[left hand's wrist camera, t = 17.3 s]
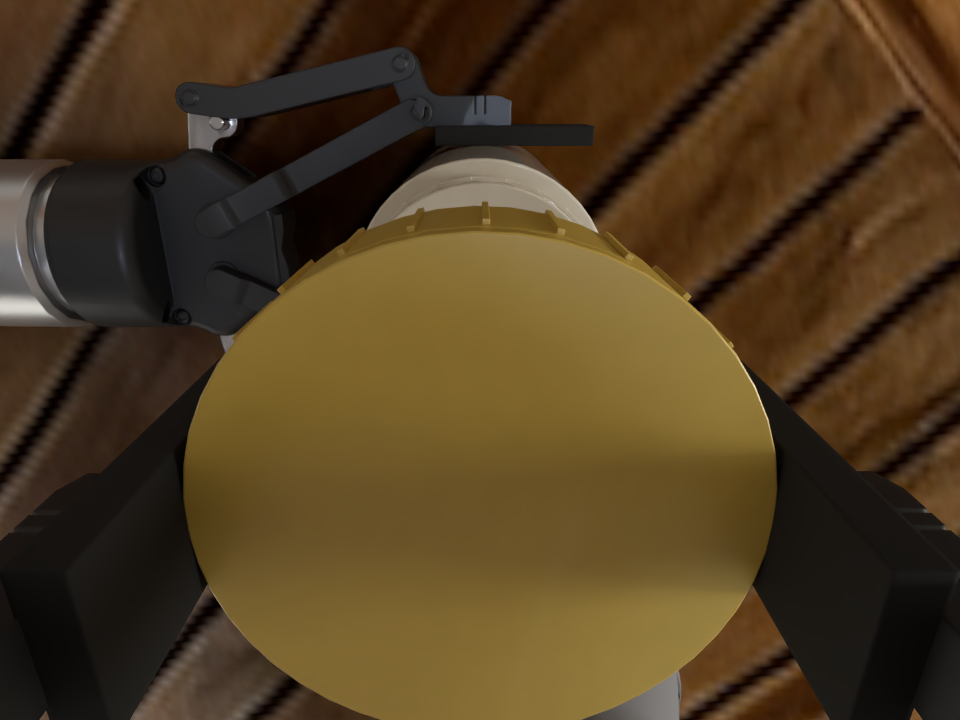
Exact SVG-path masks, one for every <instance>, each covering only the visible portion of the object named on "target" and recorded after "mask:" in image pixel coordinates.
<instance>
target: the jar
mask: <svg viewBox="0 0 960 720" xmlns="http://www.w3.org/2000/svg"><path fill="white" fill-rule="evenodd" d="M482 202H488V204H489V206H493V207H512V208H518V209H523V210H529V211H534V212H540V213H545V211H546V209H547V210H551V211H552V212H553V213H554V215H555V216H556V217H558V218H561V219H564V220H567V221H571V222H574V223H577V224H580V225H582V226H584V227H586V228H588V229H591V230H593V231H595V232H597V233H598V231H597V229H596V227H595V225H594V223H593V221H592V219H591V218H590V216H589V215H588V213H587V212H586V211H585V209H584V208H583V206H582V205H581V204H580V202H579V201H578V200H577V199H576V198H575V197H574V196H573V195H572V194H571V193H570V192H569V191H568V190H567V189H566V188H565V187H564V186H563V185H562V184H561V183H560V182H559V181H558V180H557V179H556V178H555V177H554V176H553V175H552V174H551V173H550V172H549V171H548V170H547V169H546V168H545V167H544V166H543V165H542V164H541V163H540V162H539V161H538V160H537V159H536V158H535V157H534V156H533V155H531V154H530V153H529V152H528V151H526V150H525V149H523V148H521V147H519V146H444V147H442V148H440V149H439V150H437V151H436V152H434V153H433V154H432V155H431V156H429V157H428V158H427V159H426V160H425V161H424V162H423V163H422V164H421V165H420V166H419V167H418V168H417V169H416V170H415V171H414V172H413V173H412V174H411V175H410V176H409V177H408V178H407V179H406V180H405V181H404V182H403V183H402V184H401V185H400V186H399V187H398V188H397V189H396V190H395V191H394V192H393V193H392V194H391V196H390V197H389V198H388V199H387V200H386V201H385V202H384V203H383V205H382V206H381V207H380V208H379V210H378V211H377V213H376V214H375V216H374V217H373V219H372V220H371V222H370V224H369V226H368V228H367V230H369V229H371V228H374V227H376V226H379V225H382V224H385V223H387V222H390V221H393V220H395V219H398V218H401V217H404V216H408V215H413V214H415V212H416V211H417V209H418V208H422V207H424V210H425V212H426V211H431V210H435V209H442V208H453V207H465V206H482ZM367 230H366V231H367Z"/></svg>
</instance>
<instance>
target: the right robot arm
mask: <svg viewBox="0 0 960 720" xmlns="http://www.w3.org/2000/svg"><path fill="white" fill-rule="evenodd" d="M393 85H394V87H395V89H396V92H397V95H398V97H399V100H400V102H401V103H400V104H398V105H396V106H395V107H393V108H391V109H389V110H387V111H385V112H384V113H382V114H380V115H378V116H376V117H374V118H373V119H371V120H369V121H367V122H365V123H363V124H362V125H360V126H358V127H356V128H354V129H352V130H351V131H349V132H347V133H345V134H343V135H341V136H340V137H338V138H336V139H334V140H332V141H330V142H329V143H327V144H325V145H323V146H321V147H319V148H318V149H316V150H314V151H312V152H310V153H308V154H307V155H305V156H303V157H301V158H299V159H297V160H296V161H294V162H292V163H290V164H288V165H286V166H285V167H283V168H281V169H279V170H276V171H274V172H272V173H270V174H269V175H267V176H265V177H263V178H260V177H258V176H257V175H255V174H254V173H253V172H251V171H250V170H248V169H247V168H245V167H244V166H242V165H241V164H239V163H238V162H236V161H235V160H234V159H232V158H231V157H229V156H228V155H226V154H225V153H223V152H222V151H220V147H221V143H222V141H223V140H224V139H225V138H227V137H230V136H236V135H238V134H240V133H241V132H242V131H243V129H244V124H245V119H244V118H256V117H265V116H271V115H275V114H279V113H283V112H287V111H291V110H295V109H300V108H304V107H308V106H312V105H316V104H320V103H324V102H328V101H332V100H336V99H340V98H344V97H349V96H353V95H357V94H361V93H365V92H369V91H373V90H377V89H381V88H385V87H389V86H393ZM175 97H176V102H177V104H178V105H179V107H180V108H181V109H182V110H183V111H185V112H187V113H188V134H189V149H188V150H185V151H183V152H182V153H180V154H179V155H177V156H176V157H174V158H171V159H83V160H79V161H77V162H75V163H73V162H70V161H67V160H64V159H0V326H44V327H85V326H88V325H90V324H95V325H98V326H104V327H173V326H195V327H199V328H202V329H205V330H207V331H209V332H211V333H213V334H216V335H220V337H221V341H222V344H223V347H224V350H225V353H226V352H227V350H228V349H229V348H230V346H231V345H232V344H233V342H234V340H233V339H232V338H233V336H234V335H235V334H236V333H237V332H238V331H239V330H240V329H241V328H242V327H243V326H244V325H245V324H247V323H248V322H249V321H250V320H251V319H252V318H253V317H254V316H255V315H256V314H257V313H259V312H260V311H261V310H262V309H263V308H264V307H265V306H266V305H267V304H268V303H269V302H270V301H274V300H275V299H276V298H277V297H278V296H279V295H280V293H279V292H278V291H277V289H278V288H279V287H280V286H282V285H283V284H284V283H285V282H286V281H287V280H288V279H289V278H291V277H292V276H293V275H294V274H295V273H296V272H297V271H298V270H300V269H301V263H300V256H299V253H298V251H297V248H296V245H295V243H294V234H295V228H296V217H295V208H294V207H290V205H289V203H288V201H287V200H289V199H291V198H292V197H294V196H296V195H298V194H300V193H302V192H304V191H306V190H307V189H309V188H311V187H313V186H315V185H317V184H318V183H320V182H322V181H324V180H326V179H328V178H330V177H332V176H333V175H335V174H337V173H339V172H341V171H343V170H345V169H346V168H348V167H350V166H352V165H354V164H356V163H358V162H360V161H361V160H363V159H365V158H367V157H369V156H371V155H373V154H375V153H376V152H378V151H380V150H382V149H384V148H386V147H388V146H390V145H391V144H393V143H395V142H397V141H399V140H401V139H403V138H404V137H406V136H408V135H410V134H412V133H414V132H416V131H418V130H419V129H421V128H423V127H435V146H593V138H594V126H591V125H586V124H511V101H510V100H508V99H505V98H503V97H501V96H440V95H437V94H435V93H434V92H433V91H432V90H431V89H430V88H429V87H428V85H427V82H426V80H425V77H424V74H423V71H422V69H421V66H420V62H419V59H418V57H417V56H416V55H415V54H414V53H412V52H411V51H410V50H408V49H406V48H404V47H393V48H389V49H385V50H381V51H378V52H374V53H370V54H366V55H362V56H358V57H354V58H350V59H346V60H342V61H338V62H334V63H330V64H326V65H322V66H318V67H314V68H310V69H306V70H302V71H298V72H294V73H290V74H286V75H282V76H278V77H274V78H270V79H266V80H262V81H258V82H254V83H250V84H246V85H242V86H238V87H232V86H225V85H218V84H209V83H195V82H184V83H182V84H181V85H179V86H178V88H177V89H176V94H175Z"/></svg>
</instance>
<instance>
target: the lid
mask: <svg viewBox="0 0 960 720" xmlns="http://www.w3.org/2000/svg"><path fill="white" fill-rule="evenodd" d="M277 291H278V292H279V293H280V295H279V296H278V297H277V298H276V299H275V300H274V301H270V302H269V303H268V304H267V305H266V306H265V307H264V308H263V309H262V310H261V311H260V312H259V313H257V314H256V315H255V316H254V317H253V318H252V319H251V320H250V321H249V322H248V323H247V324H245V325H244V326H243V327H242V328H241V329H240V330H239V331H238V332H237V333H236V334H235V335H234V336H233V338H232V339H233V340H234V342H233V344H232V345H231V346H230V348H229V349H228V350H227V352H226V353H225V354H224V356H223V357H222V358H221V360H220V361H219V362H218V364H217V366H216V367H215V369H214V371H213V373H212V375H211V377H210V379H209V381H208V383H207V385H206V387H205V388H204V390H203V392H202V394H201V396H200V399H199V402H198V405H197V408H196V411H195V414H194V417H193V420H192V423H191V426H190V429H189V433H188V439H187V445H186V451H185V457H184V463H183V501H184V508H185V514H186V519H187V525H188V530H189V534H190V539H191V543H192V546H193V549H194V552H195V555H196V559H197V562H198V564H199V566H200V568H201V570H202V573H203V575H204V577H205V579H206V581H207V583H208V585H209V587H210V589H211V591H212V593H213V594H214V596H215V597H216V599H217V601H218V602H219V604H220V605H221V607H222V608H223V610H224V611H225V613H226V614H227V616H228V617H229V619H230V620H231V621H232V622H233V623H234V625H235V626H236V627H237V628H238V629H239V630H240V632H241V633H242V634H243V635H244V636H245V637H246V639H247V640H248V641H249V642H250V643H251V644H252V645H253V646H254V647H255V648H256V649H258V650H259V651H260V652H261V653H262V654H263V655H264V656H265V657H266V658H267V659H268V660H270V661H271V662H272V663H273V664H274V665H275V666H277V667H278V668H280V669H281V670H282V671H284V672H285V673H286V674H288V675H289V676H291V677H292V678H293V679H295V680H296V681H298V682H299V683H300V684H302V685H304V686H306V687H307V688H309V689H311V690H313V691H314V692H316V693H318V694H320V695H321V696H323V697H325V698H327V699H329V700H331V701H333V702H336V703H338V704H340V705H342V706H345V707H347V708H349V709H351V710H354V711H356V712H359V713H362V714H365V715H368V716H371V717H374V718H377V719H380V720H581V719H584V718H587V717H589V716H592V715H595V714H598V713H601V712H603V711H606V710H609V709H612V708H614V707H616V706H618V705H620V704H622V703H624V702H626V701H628V700H630V699H633V698H635V697H637V696H639V695H641V694H643V693H644V692H646V691H648V690H649V689H651V688H652V687H654V686H656V685H657V684H659V683H660V682H662V681H664V680H665V679H667V678H669V677H670V676H671V675H673V674H674V673H675V672H676V671H678V670H679V669H680V668H682V667H683V666H684V665H685V664H687V663H688V662H689V661H690V660H692V659H693V658H694V657H695V656H696V655H697V654H698V653H699V652H700V651H701V650H702V649H703V648H704V647H705V646H706V645H708V644H709V643H710V642H711V641H712V640H713V639H714V638H715V637H716V636H717V635H718V633H719V632H720V631H721V630H722V628H723V627H724V626H725V624H726V623H727V622H728V621H729V619H730V618H731V617H732V616H733V614H734V613H735V612H736V611H737V609H738V607H739V606H740V604H741V602H742V601H743V599H744V597H745V596H746V594H747V592H748V591H749V589H750V587H751V586H752V584H753V582H754V580H755V578H756V575H757V573H758V571H759V568H760V566H761V563H762V561H763V559H764V556H765V554H766V550H767V546H768V541H769V536H770V532H771V527H772V523H773V517H774V512H775V506H776V500H777V490H778V484H777V466H776V452H775V447H774V443H773V438H772V433H771V429H770V424H769V420H768V417H767V415H766V412H765V409H764V407H763V404H762V402H761V399H760V397H759V394H758V391H757V389H756V386H755V385H754V383H753V381H752V380H751V378H750V376H749V374H748V373H747V371H746V369H745V368H744V366H743V364H742V362H741V361H740V359H739V357H738V356H737V354H736V353H735V352H734V350H733V349H732V348H733V347H734V346H733V344H732V343H731V342H730V341H729V340H728V339H727V338H726V337H725V336H724V335H723V334H722V333H721V332H720V331H719V330H717V329H716V328H715V327H714V326H713V325H712V324H711V323H710V322H709V321H708V320H707V319H706V318H705V317H704V316H703V315H702V314H701V313H699V312H698V311H697V310H696V309H695V308H694V307H693V306H692V305H691V304H690V303H689V302H688V300H689V299H690V298H691V296H690V295H689V294H688V293H687V292H686V291H685V290H684V289H682V288H681V287H680V286H679V285H678V284H677V283H676V282H674V281H673V280H672V279H671V278H670V277H669V276H668V275H666V274H665V273H664V272H663V271H662V270H661V269H660V268H659V267H657V266H656V265H655V266H654V267H653V268H652V269H651V268H650V267H649V266H648V265H647V264H646V263H645V262H644V261H643V260H641V259H640V258H638V257H637V256H635V255H634V254H633V253H631V252H630V251H628V250H627V249H626V248H625V247H624V246H623V245H622V244H621V243H619V242H618V241H617V240H616V239H615V238H614V237H613V236H612V235H611V234H610V233H608V232H606V231H605V232H604V234H603V235H601V234H599V233H597V232H595V231H593V230H591V229H588V228H586V227H584V226H582V225H580V224H577V223H574V222H571V221H567V220H564V219H561V218H558V217H556V216H555V215H554V213H553V212H552V211H551V210H547V209H546V211H545V213H540V212H534V211H529V210H523V209H518V208H512V207H493V206H489V204H488V202H482V206H465V207H453V208H442V209H435V210H431V211H426V212H425V210H424V207H422V208H418V209H417V211H416V212H415V214H413V215H408V216H404V217H401V218H398V219H395V220H393V221H390V222H387V223H385V224H382V225H379V226H376V227H374V228H371V229H369V230H367V231H365V229H364V227H362V228H360V229H358V230H357V231H356V232H355V233H354V234H353V235H352V236H351V237H350V238H349V239H348V240H347V241H346V242H344V243H343V244H341V245H339V246H337V247H336V248H335V249H333V250H332V251H330V252H329V253H328V254H326V255H325V256H324V257H322V258H321V259H320V260H318V261H317V262H316V263H315V262H314V261H313V260H312V259H311V260H310V261H309V262H307V263H306V264H305V265H304V266H303V267H302V268H301V269H300V270H298V271H297V272H296V273H295V274H294V275H293V276H292V277H291V278H289V279H288V280H287V281H286V282H285V283H284V284H283V285H282V286H280V287H279V288H278V289H277Z"/></svg>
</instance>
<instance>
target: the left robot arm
mask: <svg viewBox="0 0 960 720" xmlns="http://www.w3.org/2000/svg"><path fill="white" fill-rule="evenodd" d="M220 360H221V358H220V359H219V360H218V361H217V362H216V363H215V364H214V365H213V366H212V367H211V368H210V369H209V370H208V371H207V372H206V373H205V374H204V375H202V376H201V377H200V378H199V379H198V380H197V381H196V382H195V383H194V384H193V385H192V386H191V387H190V388H189V389H188V390H187V391H186V392H185V393H184V394H183V395H182V396H181V397H180V398H179V399H178V400H176V401H175V402H174V403H173V404H172V405H171V406H170V407H169V408H168V409H167V410H166V411H165V412H164V413H163V414H162V415H161V416H160V417H159V418H158V419H157V420H156V421H155V422H154V423H153V424H151V425H150V426H149V427H148V428H147V429H146V430H145V431H144V432H143V433H142V434H141V435H140V436H139V437H138V438H137V439H136V440H135V441H134V442H133V443H132V444H131V445H130V446H129V447H128V448H126V449H125V450H124V451H123V452H122V453H121V454H120V455H119V456H118V457H117V458H116V459H115V460H114V461H113V462H112V463H111V464H110V465H109V466H108V467H107V468H106V469H105V470H104V471H103V472H101V473H100V474H86V475H84V476H82V477H80V478H79V479H77V480H75V481H73V482H71V483H70V484H68V485H66V486H64V487H62V488H60V489H59V490H57V491H55V492H54V493H53V494H52V495H51V496H50V497H49V498H48V499H46V500H45V501H44V502H43V503H42V504H41V505H40V506H39V507H38V508H36V509H35V510H34V511H33V515H29V516H28V517H26V518H25V519H24V520H23V521H22V522H21V523H20V524H19V525H18V526H17V527H15V528H14V533H9V534H8V535H7V536H5V537H4V538H3V539H2V540H1V541H0V720H39V719H40V718H41V716H42V715H43V714H44V712H45V711H46V710H47V713H48V716H49V719H50V720H130V718H131V716H132V715H133V713H134V711H135V709H136V708H137V706H138V704H139V702H140V701H141V699H142V697H143V695H144V694H145V692H146V690H147V689H148V687H149V685H150V683H151V682H152V680H153V678H154V676H155V675H156V673H157V671H158V669H159V668H160V666H161V664H162V662H163V661H164V659H165V657H166V655H167V654H168V652H169V650H170V648H171V647H172V645H173V643H174V641H175V640H176V638H177V636H178V634H179V633H180V631H181V629H182V627H183V626H184V624H185V622H186V620H187V619H188V617H189V615H190V613H191V612H192V610H193V608H194V607H195V605H196V603H197V601H198V600H199V598H200V596H201V594H202V593H203V591H204V589H205V587H206V586H207V584H208V583H207V581H206V579H205V577H204V575H203V573H202V570H201V568H200V566H199V564H198V562H197V559H196V555H195V552H194V549H193V546H192V543H191V539H190V534H189V530H188V525H187V519H186V514H185V508H184V501H183V463H184V457H185V451H186V445H187V439H188V433H189V429H190V426H191V423H192V420H193V417H194V414H195V411H196V408H197V405H198V402H199V399H200V396H201V394H202V392H203V390H204V388H205V387H206V385H207V383H208V381H209V379H210V377H211V375H212V373H213V371H214V369H215V367H216V366H217V364H218V362H219V361H220ZM740 361H741V360H740ZM741 362H742V361H741ZM742 364H743V366H744V368H745V369H746V371H747V373H748V374H749V376H750V378H751V380H752V381H753V383H754V385H755V386H756V389H757V391H758V394H759V397H760V399H761V402H762V404H763V407H764V409H765V412H766V415H767V417H768V420H769V424H770V429H771V433H772V438H773V443H774V447H775V452H776V466H777V484H778V490H777V500H776V506H775V512H774V517H773V523H772V527H771V532H770V536H769V541H768V546H767V550H766V554H765V556H764V559H763V561H762V563H761V566H760V568H759V571H758V573H757V575H756V578H755V580H754V582H753V584H752V585H753V586H754V588H755V590H756V592H757V593H758V595H759V597H760V599H761V600H762V602H763V604H764V606H765V607H766V609H767V611H768V612H769V614H770V616H771V618H772V619H773V621H774V623H775V625H776V626H777V628H778V630H779V632H780V633H781V635H782V637H783V639H784V640H785V642H786V644H787V646H788V647H789V649H790V651H791V653H792V654H793V656H794V658H795V660H796V661H797V663H798V665H799V667H800V668H801V670H802V672H803V674H804V675H805V677H806V679H807V681H808V682H809V684H810V686H811V688H812V689H813V691H814V693H815V694H816V696H817V698H818V700H819V701H820V703H821V705H822V707H823V708H824V710H825V712H826V714H827V715H828V717H829V719H830V720H910V717H911V715H912V712H913V709H914V708H915V709H916V711H917V712H918V714H919V715H920V716H921V718H922V719H923V720H960V538H959V537H958V536H957V535H955V534H954V533H953V532H952V531H951V530H946V526H945V525H944V524H943V523H942V522H941V521H940V520H939V519H938V518H936V517H935V516H934V515H933V514H932V513H927V509H926V508H925V507H924V506H923V505H922V504H921V503H920V502H918V501H917V500H916V499H915V498H914V497H913V496H912V495H911V494H910V493H908V492H907V491H906V490H905V489H904V488H902V487H900V486H898V485H896V484H895V483H893V482H891V481H889V480H887V479H885V478H884V477H882V476H880V475H878V474H876V473H874V472H873V471H856V470H855V469H854V468H853V467H852V466H851V465H850V464H849V463H848V462H847V461H846V460H844V459H843V458H842V457H841V456H840V455H839V454H838V453H837V452H836V451H835V450H834V449H833V448H832V447H831V446H830V445H829V444H828V443H827V442H826V441H825V440H824V439H823V438H822V437H821V436H820V435H818V434H817V433H816V432H815V431H814V430H813V429H812V428H811V427H810V426H809V425H808V424H807V423H806V422H805V421H804V420H803V419H802V418H801V417H800V416H799V415H798V414H797V413H796V412H795V411H793V410H792V409H791V408H790V407H789V406H788V405H787V404H786V403H785V402H784V401H783V400H782V399H781V398H780V397H779V396H778V395H777V394H776V393H775V392H774V391H773V390H772V389H771V388H770V387H769V386H767V385H766V384H765V383H764V382H763V381H762V380H761V379H760V378H759V377H758V376H757V375H756V374H755V373H754V372H753V371H752V370H751V369H750V368H749V367H748V366H747V365H746V364H745V363H744V362H742ZM680 699H681V681H680V675H679V670H678V671H676V672H675V673H674V674H673V675H671V676H670V677H669V678H667V679H665V680H664V681H662V682H660V683H659V684H657V685H656V686H654V687H652V688H651V689H649V690H648V691H646V692H644V693H643V694H641V695H639V696H637V697H635V698H633V699H630V700H628V701H626V702H624V703H622V704H620V705H618V706H616V707H614V708H612V709H609V710H606V711H603V712H601V713H598V714H595V715H592V716H589V717H587V718H584V719H581V720H679V706H680Z"/></svg>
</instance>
